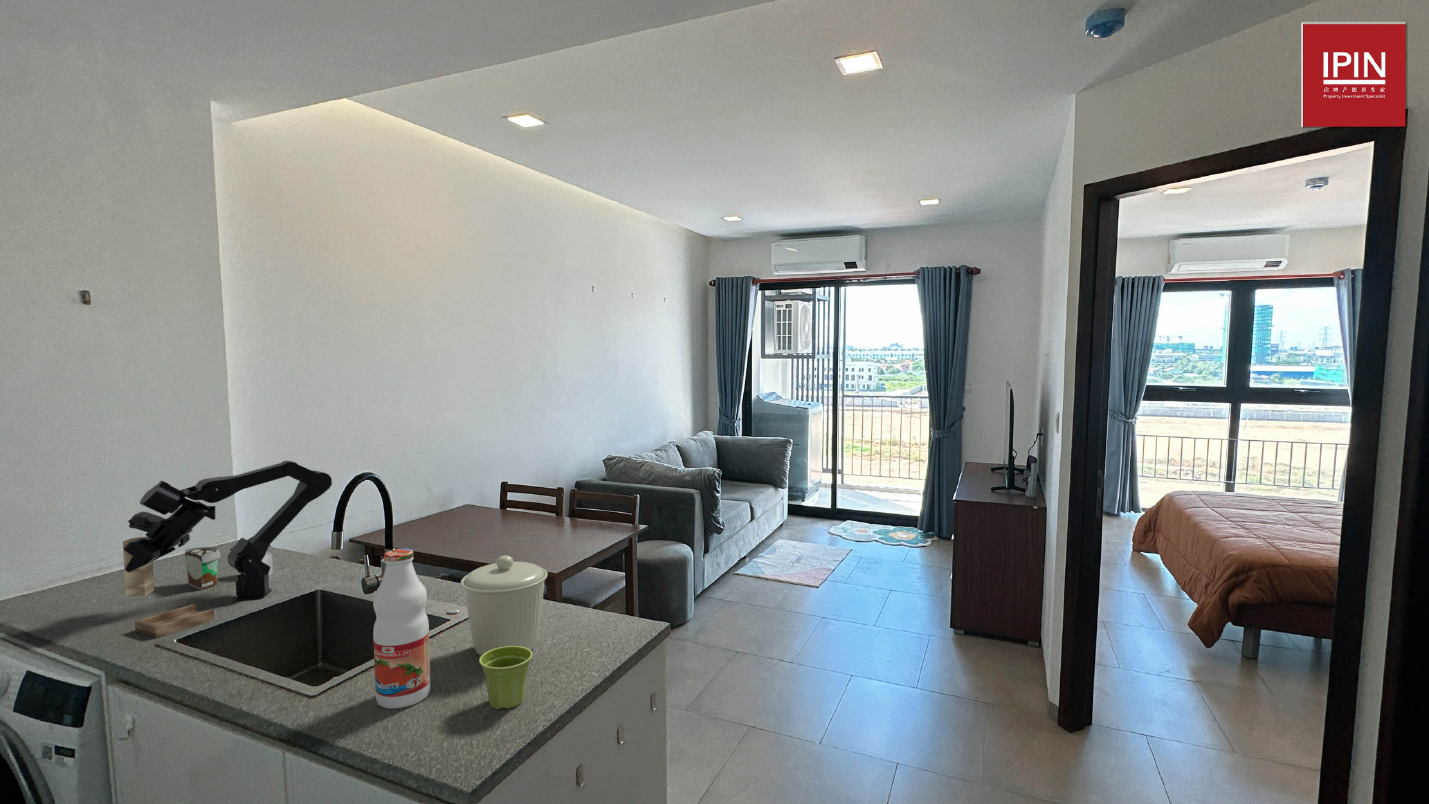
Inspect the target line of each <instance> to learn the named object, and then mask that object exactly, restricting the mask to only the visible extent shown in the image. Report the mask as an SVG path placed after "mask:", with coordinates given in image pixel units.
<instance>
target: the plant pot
mask: <svg viewBox="0 0 1429 804" xmlns="http://www.w3.org/2000/svg"><path fill="white" fill-rule="evenodd" d="M532 658H533V651H532V650H530V649H528V648H525V647H521V646H505V647H499V648H495V649H492V650H490V651H488V652H486V653H484V654H483V655H482V656H480V657H479V660H478V661H479V664H480V666H481V667H482V671H483V672H484V678H485V682H486V689H487V696H488V702H489V705H490V707H492V708H493V709H497V710H501V709H503V708H505V709H512V708H514V707H515V708H516V707H517V706H519V705H520V704H521V703H523V700H524V698H525V691H526V682H527V676H528V670H529V666H530V664H531V663H530V661H531V660H532Z"/></svg>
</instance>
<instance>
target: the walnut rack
mask: <svg viewBox="0 0 1429 804" xmlns="http://www.w3.org/2000/svg"><path fill="white" fill-rule="evenodd" d="M212 621H215V609H212V608H210V609H207V610H204V611H197V610H196V604H189V605H186V606H183V607H179V608H176V609H172V610H169V611H165V612H162V613H159V614H155V615H152V616H148V617H145V618H142V619H138V620H135V622H134V630H135V631H136V633H138V634H142V635H144V636H148V637H152V638H154V639H159V638H162V637H165V636H167V635H171V634H174V633H177V631H178V632H180V631H183V629H184V630H186V629H190V628H193V627H196V626H199V625H202V624H206V623H208V622H212Z"/></svg>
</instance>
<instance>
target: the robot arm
mask: <svg viewBox="0 0 1429 804" xmlns="http://www.w3.org/2000/svg"><path fill="white" fill-rule="evenodd" d="M285 477H290V478H292V479H293V480H296V481H299V482H298V483H297V485H296V487H295V490H294V492H293V494H292V495H291V496H290V497H289V498H288V499H287V500H286V501H285V502H284V504H283V505H282V506H281V507H280V508H279V509H278V510H277V511H275V513H274V514H273V515H272V516H271V517H270V518H269V519H268V521H266V523H265V524H264V525H263V526H262V527H261V528H260V529H259V530H258V531H257V532H256V533H255V534H254V535H253V536H251V537H249V538H248V539H246V538H244V537H240V539H239V540H238V541H237V542H236V544H235V545H233V546H232V547H231V548H229V551H230V552H229V553H228V555H227V563H228V565H229V566H230V567H231V568H232V569H235V570H236V572H237V573H239V574H238V576H237V580H236V581H235V594H236V598H235V601H245V600H259V599H263V598H265V597H267V595H269V594H270V593H271V592H272V590H273V589H272V588H270V581H269V580H270V576H269V575H268V573H269V570H270V566H268V565H267V564H265V563H263V562H262V559H263V558H264V556H265V554H266V552H267V549H269V546H270V545H271V544H272V543H273V541H275V539H277V537H279V535H280V534H281V533H282V532H283V530H285V529H286V528H287V526H288V525H289V524H290V523H291V522H292V521H293V520H294V519H295V518H296V517H297V516H298V515H299V514H300V513H301V511H302V510H303V509H304V508H305V507H306V506H307V505H308V504H309V503H310V502H312V501H314V500H316V499H318V498H320V497H321V496H322V495H323V494H325V492H328V490H330V489H331V487H332V485H333V482H332V481H333V479H332V477H331V475H330V474H329V473H326V472H323V471H319V470H315V469H314V470H311V469H310V468H306V467H304V466H303V465H300V464H298V463H297V462H295V461H292V460H284V461H281V462H280V463H279V462H278V463H275V464H272V465H268V466H264V467H261V468H257V469H254V470H251V471H246V472H244V473H239V474H235V475H226V476H215V477H209V478H203V479H201V480H199V481H197V483H196V484H195V485H192V486H190V487H187V488H183V489H178V488H176V487H174V486H172V485H171V484H170V483H168V482H166V481H164V480H160V481H159V482H158V483H157V484H155V485H154V486H153V487H151V488H150V489H149V490H147V491H146V492H145V493H144V495H143V496H142V497H141V499H140V501H139V505H141V506H143V507H146V508H148V509H150V510H152V511H155V512H157V513H160V514H161V515H167V514H171V515H170V516H168V517H167V518H165V517H162V516H160V515H157V514H154V513H150V512H148V511H139V512H137V513H135V514H134V515H132V516H131V518H130V519H129V520H128V523H129V524H128V527H129V529H132V530H133V529H136V530H138V531H142V532H146V533H145V534H144V535H145V537H149V538H151V539H150V540H148V541H147V540H146V539H145V538H141V539H136V540H134V541H132V542H130V543H129V544H127V545H126V546H125V547H124V550H125V551H126V552H128V553H129V554H130V555H132V556H133V557H132V558H131V560H130V562H129V564H128V565H127V567H126V569H125V570H126V571H127V572H131V571H133V570H135V569H137V568H139V567H142V566H144V565H146V564H148V563H150V562H154V561H157V560H159V559H160V558H161V557H164V556H166V555H168V554H170V553H172V552H174V551H176V546H177V547H178V548H181V547H183V546H185V545H186V544H188V542H189V541H190V540H191V538H190V533H191V532H193V531H194V530H193V529H194V527H196V526H197V525H198V524H199V523H200V522H201V521H202V520H203V519H204V518H205V517H206V518H207V519H210V520H213V521H214V520H216V518H217V517H216V508H217V507H216V505H208V504H204V503H203V502H205V503H210V504H214V503H219V502H221V501H223V500H225V499H228V498H229V497H232V496H234V495H235V494H237V493H238V492H240V491H242V490H245V489H249V488H253V487H255V486H258V485H263V484H265V483H269V482H273V481H276V480H280V479H283V478H285ZM201 501H203V502H201Z"/></svg>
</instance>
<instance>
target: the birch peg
mask: <svg viewBox="0 0 1429 804" xmlns="http://www.w3.org/2000/svg"><path fill="white" fill-rule="evenodd" d="M141 538H145V539H146V540H147V541H148V540H150V539H151V538H149V537H147V536H136V537H131V538H128V539H126V540H123V541H122V546H123V547H122V549H123V550H122V551H123V565H124V567H123V568H124V582H125V583H124V584H125V586H124V588H125V598H131V597H144V596H147V595H148V594H151V593H152V592H153V591H155V581H154V580H155V577H154V576H155V575H154V563H153V562H154V561H153V562H150V563H148V564H146V565H144V566H142V567H139V568H137V569H135V570H133V571H131V572H127V571H126V570H125V569H126V567H127V565H128V564H129V562H130V560H131V558H132V557H133V556H132V555H130V554H129V553H128V552H126V551H125V550H124V547H125V546H126V545H127V544H129V543H130V542H132V541H134V540H136V539H141Z"/></svg>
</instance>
